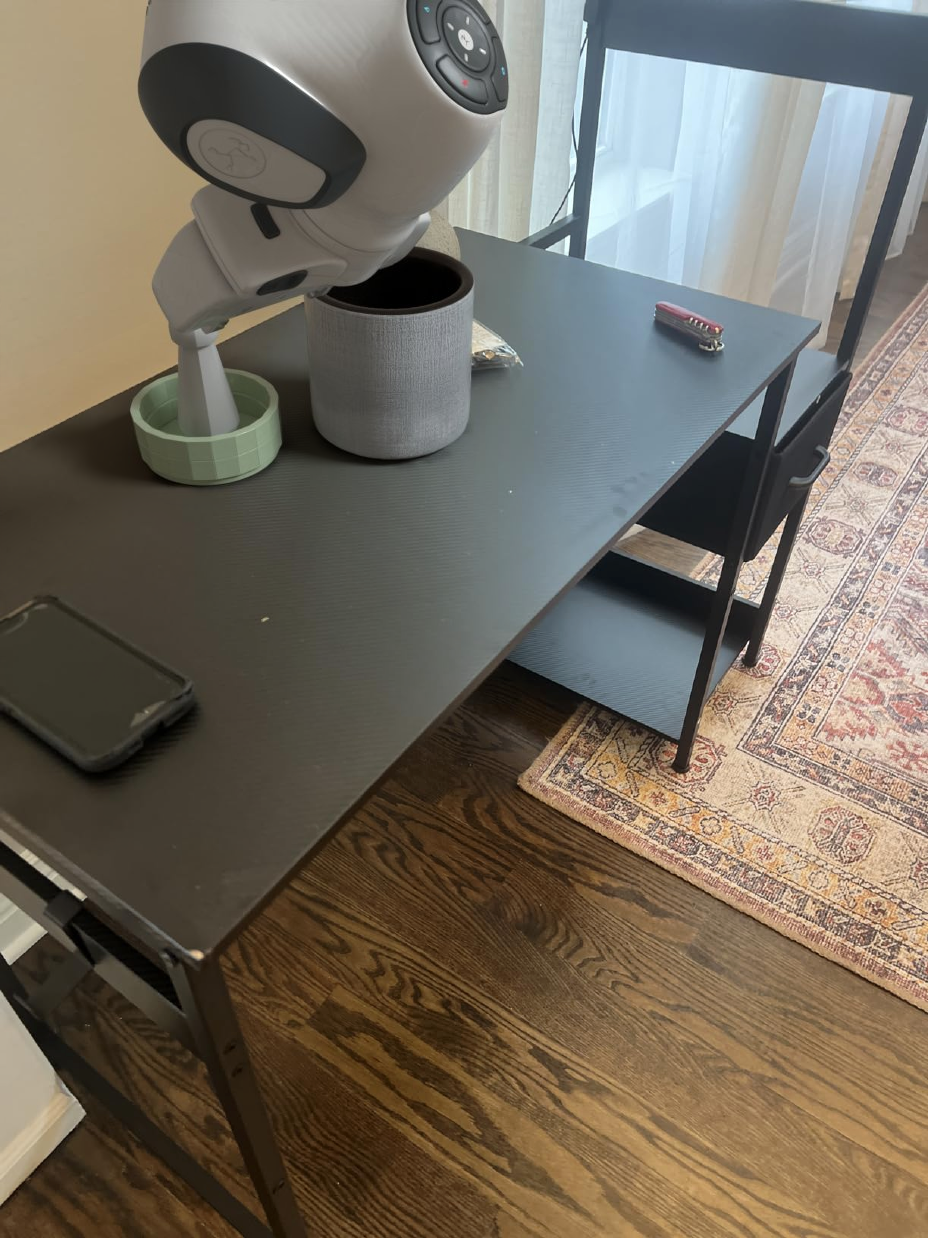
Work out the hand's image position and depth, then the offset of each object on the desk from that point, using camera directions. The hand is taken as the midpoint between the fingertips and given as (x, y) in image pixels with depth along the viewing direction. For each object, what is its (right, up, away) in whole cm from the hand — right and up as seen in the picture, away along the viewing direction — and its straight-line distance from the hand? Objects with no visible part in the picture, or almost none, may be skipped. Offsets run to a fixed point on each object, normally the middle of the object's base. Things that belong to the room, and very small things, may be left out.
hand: (261, 304), depth 71 cm
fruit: (+9, +16, +47) cm, 50 cm away
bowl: (-9, -7, +21) cm, 24 cm away
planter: (+8, -4, +25) cm, 27 cm away
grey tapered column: (-9, -7, +20) cm, 23 cm away
